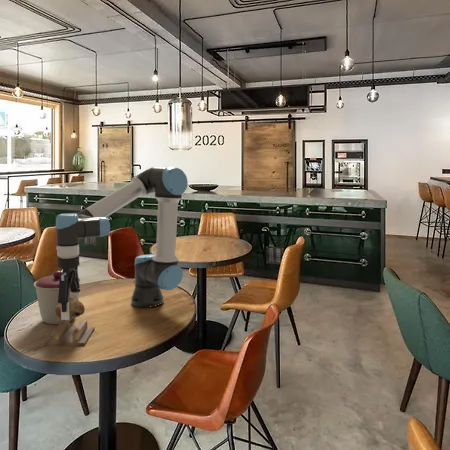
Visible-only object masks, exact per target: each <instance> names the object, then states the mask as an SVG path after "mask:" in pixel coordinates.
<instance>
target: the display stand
mask: <svg viewBox="0 0 450 450" xmlns="http://www.w3.org/2000/svg"><path fill="white" fill-rule="evenodd" d="M95 329H96V328H95V326H88V319H81V321H80V322H79V323H78V324H77V326H70V321H69V320H63V321H62V322H61V323H60V324H58V326H57V327H56V328H55V330H53V332H52V334H51V335H50V336H49V337H48V338H47V340H45V342H44V346H45V347H51V346H52V347H54V346H55V347H56V346H57V347H59V346H60V347H61V346H66V347H69V346H70V347H71V346H73V347H75V346H77V347H78V346H80V347H81V346H84V347H85V345H86V344H87V343H88V341H89V340H90V338H91V336H92V334H93V333H94V331H95Z"/></svg>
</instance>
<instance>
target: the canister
mask: <svg viewBox="0 0 450 450" xmlns="http://www.w3.org/2000/svg"><path fill="white" fill-rule="evenodd" d="M62 272H63V271H61V270H55V271H54V272H53V273H52V275H47V276H43V277H41V278H39V279H37V280H36V281H34V283H33V287H34V288H35V291H36V299H37V302H38V303H37V304H38V308H39V314H40V317H41V320H42V321H43V322H44V323H46V324H49V325H60V323H61V322H62V321H63V320H61V318H58V316H56V312H55V308H56V307H57V306H58V304H59V303H58V295H59V275H62ZM78 278H79V286H80V284H81V283H82V279H81V278H80V277H78ZM70 293H71V289H70V290H69V297H68V298H70ZM79 295H80V292H78V298H79ZM73 320H74V319H69V322H72V321H73Z"/></svg>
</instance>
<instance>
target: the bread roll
mask: <svg viewBox="0 0 450 450" xmlns="http://www.w3.org/2000/svg"><path fill="white" fill-rule="evenodd" d="M68 302H69V317H70V319H73V320H75V319H76V318H79V317H80V316H82V315H84V313H85V309H86V308H85V305H84V304H83V302H81V301H80V300H79V298H78V299H74V298H68ZM55 312H56V316H58V318H61V303H59V304H58V306H57V307H56V308H55Z"/></svg>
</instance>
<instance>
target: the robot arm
mask: <svg viewBox="0 0 450 450" xmlns="http://www.w3.org/2000/svg"><path fill="white" fill-rule="evenodd" d="M188 183H189V181H188V177H187V175H186V173H185V172H184V171H183V169H181V168H179V167H175V166H152V167H150V168H149V167H148V169H145V170H144V171H142V172H140V173H139V174H137V175H135V176H133V177H132V178H131V181H130V182H128V183H127V184H125V185H122V186H121V187H120V188H118V189H116V190H115V191H113V192H111V193H109V194H108V195H106V196H104V197H103V198H101V199H99V200H98V201H96V202H95V203H93V204H91V205H89V206H88V207H86V208H84V209H82V210H80V211H79V212H72V213H60V214H57V215H56V218H55V234H56V235H55V236H56V247H55V250H56V254H57V259H56V261H57V263H56V266H57V267H58V269H59V268H60V269H61V270H62V271H61V272H62V275H59V295H58V303H61V320H69V319H70V317H69V302H68V297H69V290H70V289H71V293H70V298H74V299H78V300H79V297H78V292H79V293H80V292H81V287H80V285H79V278H80V277H79V272H78V271H79V269H78V267H79V266H80V256H79V255H80V240H82V239H90V238H91V239H92V238H102V237H106V236H108V235H109V234H110V232H111V223H110V221H109V218H108V217H109V216H111V215H113V213H115V212H117V211H119V210H121V209H122V208H123V207H125V206H127V205H129V204H130V203H132V202H133V201H135V200H137V199H138V198H139V197H145V196H147V195H149V194H151V193H152V194H153V193H154V198H155V199H156V201H157V221H156V222H157V223H156V226H157V227H156V244H155V245H156V246H155V247H156V249H155V254H153V253H152V254H151V253H150V254H141V255H138V256H136V257H135V259H134V289H133V293H132V295H131V298H130V301H131V302H130V303H131V305H132V306H134V307H137V308H142V307H149V308H151V307H150V306H155V305H158V304H160V303H162V302H163V303H164V295H163V291H162V290H165V291H173V290H175V289H176V288H178V287H179V285H180V284H181V282H182V280H183V278H184V273H183V272H184V271H183V270H182V268H181V267H180V266H179V258H178V256H176V249H177V248H176V246H177V244H176V243H177V228H178V226H177V224H178V210H179V209H178V207H179V204H178V203H179V201H182V197H183V196H182V195H183V194H184V193H185V192H186V190H188ZM163 303H162V304H163Z"/></svg>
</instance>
